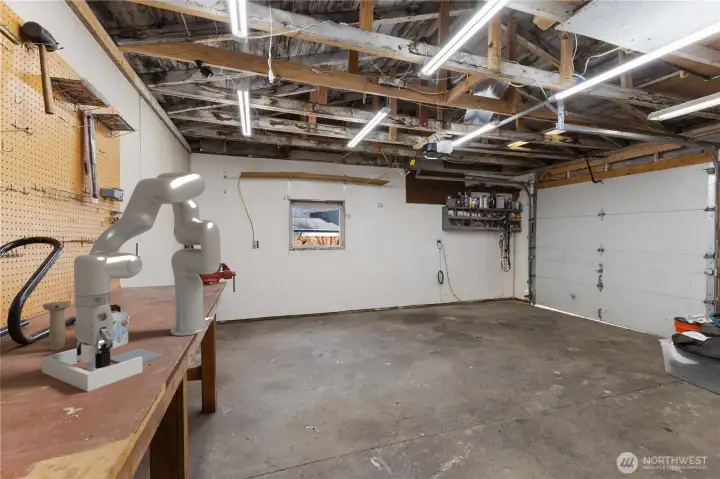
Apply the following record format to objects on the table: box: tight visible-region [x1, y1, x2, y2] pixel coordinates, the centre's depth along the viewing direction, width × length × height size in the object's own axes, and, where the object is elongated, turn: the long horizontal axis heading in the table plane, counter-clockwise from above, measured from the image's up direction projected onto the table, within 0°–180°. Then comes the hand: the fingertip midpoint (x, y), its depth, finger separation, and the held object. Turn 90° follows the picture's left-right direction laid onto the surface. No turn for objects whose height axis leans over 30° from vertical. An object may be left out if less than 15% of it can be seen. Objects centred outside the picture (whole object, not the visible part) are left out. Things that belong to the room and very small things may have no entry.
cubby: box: [41, 347, 143, 393], centre depth 88 cm, size 12×24×4 cm, turn 63°
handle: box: [42, 300, 71, 352], centre depth 105 cm, size 5×6×15 cm
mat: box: [110, 348, 163, 364], centre depth 98 cm, size 9×12×1 cm
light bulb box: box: [111, 310, 129, 350], centre depth 107 cm, size 11×7×11 cm, turn 168°
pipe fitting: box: [76, 340, 103, 372], centre depth 88 cm, size 6×7×8 cm
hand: (93, 363), depth 88 cm, fingers open, 9 cm apart
